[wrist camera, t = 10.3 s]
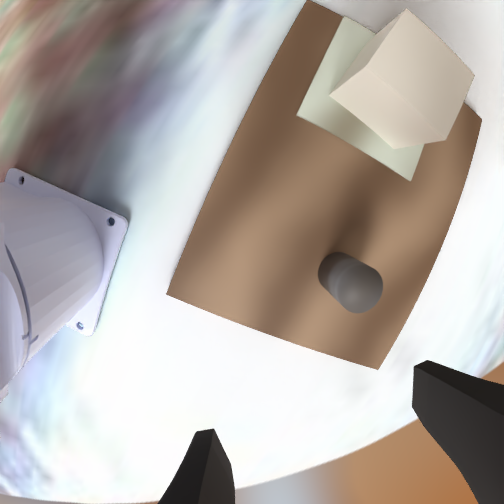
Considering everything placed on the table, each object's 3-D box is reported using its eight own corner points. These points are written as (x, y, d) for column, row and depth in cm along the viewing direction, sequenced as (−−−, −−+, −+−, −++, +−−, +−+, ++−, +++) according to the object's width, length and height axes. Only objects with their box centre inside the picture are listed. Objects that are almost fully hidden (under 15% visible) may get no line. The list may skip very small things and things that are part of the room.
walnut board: (168, 289, 18) (154, 318, 14) (304, 5, 15) (323, -31, 11) (373, 364, 21) (400, 396, 16) (475, 120, 18) (514, 113, 14)
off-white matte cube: (394, 149, 17) (445, 140, 12) (328, 95, 16) (366, 66, 11) (425, 93, 16) (474, 75, 11) (367, 42, 15) (406, 8, 10)
